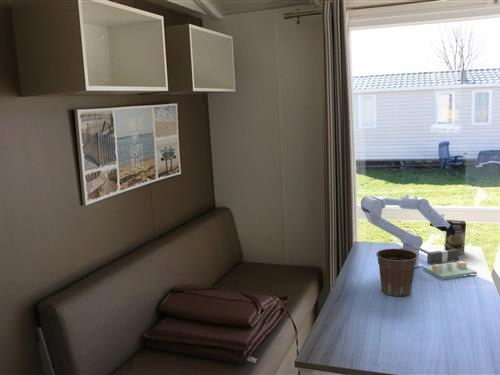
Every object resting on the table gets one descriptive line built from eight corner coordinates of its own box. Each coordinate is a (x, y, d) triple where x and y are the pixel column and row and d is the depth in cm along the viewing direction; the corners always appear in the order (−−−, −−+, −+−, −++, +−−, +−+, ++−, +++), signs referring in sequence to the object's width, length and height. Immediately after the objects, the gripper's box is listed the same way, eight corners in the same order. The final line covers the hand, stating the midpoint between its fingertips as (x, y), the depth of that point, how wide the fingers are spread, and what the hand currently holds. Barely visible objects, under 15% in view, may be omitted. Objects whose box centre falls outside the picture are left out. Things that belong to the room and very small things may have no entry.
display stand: (441, 279, 227) (442, 271, 226) (422, 269, 240) (423, 261, 239) (476, 274, 232) (476, 266, 231) (455, 265, 245) (456, 257, 244)
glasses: (430, 263, 248) (430, 253, 247) (417, 257, 257) (417, 247, 257) (458, 260, 252) (459, 250, 251) (445, 253, 262) (445, 244, 261)
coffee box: (445, 253, 262) (446, 222, 259) (444, 249, 268) (445, 219, 266) (464, 254, 260) (466, 223, 257) (463, 250, 266) (464, 220, 263)
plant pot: (371, 295, 212) (371, 257, 209) (380, 282, 226) (381, 246, 223) (411, 301, 204) (413, 262, 201) (419, 287, 218) (420, 251, 215)
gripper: (446, 212, 238) (464, 229, 242) (427, 205, 252) (444, 221, 256) (437, 223, 238) (455, 240, 242) (418, 216, 251) (435, 232, 256)
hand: (449, 231), depth 249 cm, fingers open, 7 cm apart
